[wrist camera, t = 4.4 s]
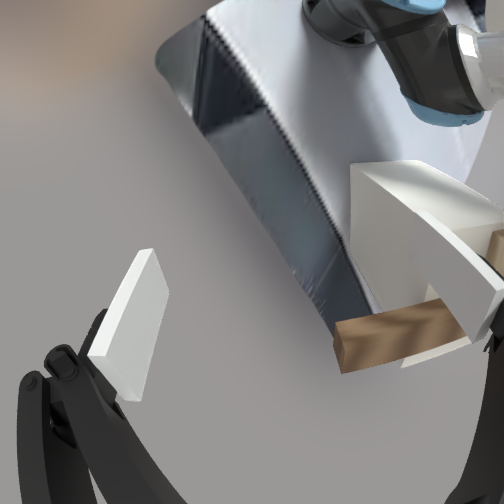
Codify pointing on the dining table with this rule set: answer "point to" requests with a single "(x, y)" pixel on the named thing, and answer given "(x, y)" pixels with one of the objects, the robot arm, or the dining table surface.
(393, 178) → the cream stand
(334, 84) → the dining table surface
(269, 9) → the dining table surface
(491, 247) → the birch offcut
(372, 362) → the walnut block
